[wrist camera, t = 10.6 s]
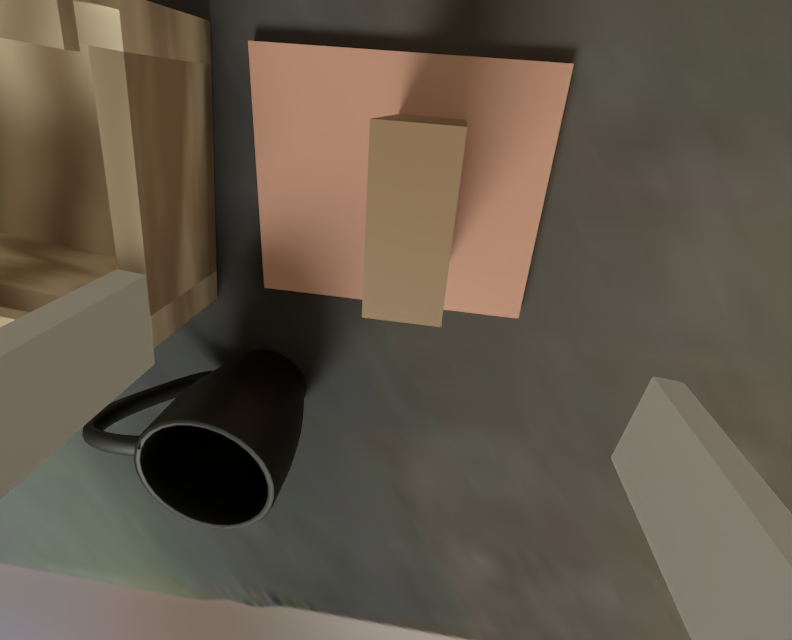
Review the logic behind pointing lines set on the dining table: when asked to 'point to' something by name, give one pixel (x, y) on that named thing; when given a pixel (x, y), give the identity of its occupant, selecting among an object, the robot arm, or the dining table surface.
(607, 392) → the dining table surface
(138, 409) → the mug
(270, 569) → the dining table surface
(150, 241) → the birch box
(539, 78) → the cover plate
